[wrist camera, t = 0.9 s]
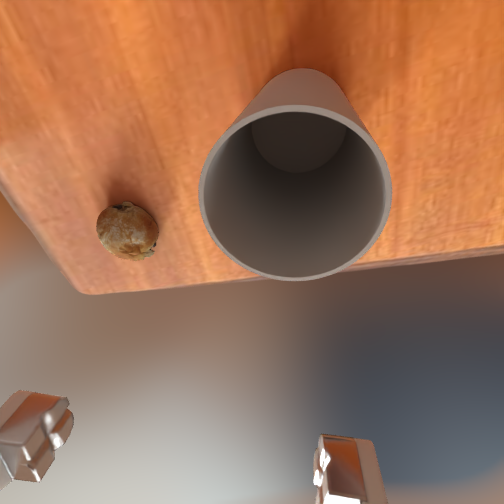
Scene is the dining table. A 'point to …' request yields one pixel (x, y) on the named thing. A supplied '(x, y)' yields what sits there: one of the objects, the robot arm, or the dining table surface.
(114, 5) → the dining table surface
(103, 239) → the bread roll
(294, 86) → the cylinder vase
